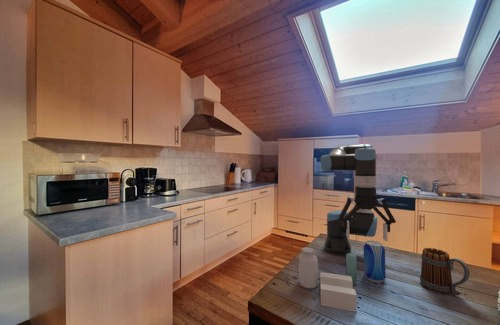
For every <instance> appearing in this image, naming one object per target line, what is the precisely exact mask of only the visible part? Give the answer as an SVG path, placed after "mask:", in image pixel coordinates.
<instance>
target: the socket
mask: <svg viewBox="0 0 500 325" xmlns="http://www.w3.org/2000/svg"><path fill="white" fill-rule="evenodd" d="M319 275H320V276H319V277H320V278H319V279H320V306H323V307H328V308H332V309H333V308H334V309H338V310H343V311H344V310H345V311H348V312H349V311H350V312H355V313H357V310H358V309H357V307H358V306H357V304H358V303H357V292H356V289H355V288H353V286H354V285H353V281H352V278H351V276H347V275H345V274H344V275H343V274H336V273H329V272H324V271H320V274H319Z"/></svg>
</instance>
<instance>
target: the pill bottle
mask: <svg viewBox="0 0 500 325" xmlns="http://www.w3.org/2000/svg"><path fill="white" fill-rule="evenodd" d="M318 263H319V260H318V257H317V256H316V255H315V249H314V248H312V247H308V246H306V247H302V248H301V254H299V256H298V277H299V278H298V281H299V284H300V286H302V287H304V288H306V289H315V288H317V287H318V284H319V276H318V275H319V269H318V268H319V264H318Z"/></svg>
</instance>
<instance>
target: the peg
mask: <svg viewBox="0 0 500 325" xmlns="http://www.w3.org/2000/svg"><path fill="white" fill-rule="evenodd" d="M345 258H346V260H345V262H346V263H345V264H346V276H351V278H352V281H353V286H357V285H358V281H357V280H358V278H357V277H358V276H357V274H358V273H357V272H358V271H357V263H358V262H357V254H355V253H349V254H346V255H345Z"/></svg>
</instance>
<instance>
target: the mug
mask: <svg viewBox="0 0 500 325" xmlns="http://www.w3.org/2000/svg"><path fill="white" fill-rule="evenodd" d="M454 262H456V263H458V264H460V266H461V267H462V269H463V276H462V278H461V279H460V280H459V281H457V282H453V278H452V271H454V270H456V267H455V266H454ZM470 273H471V272H470V268H469V266H468V265H467V263H466V262H465V261H464V260H463V259H460V258H457V257H452V258H450V254H449V253H448V252H447V251H445V250H444V251H443V250H442V249H437V248H434V247H433V248H431V247H424V248H423V249H422V253H421V267H420V275H419V283H420V284H421V285H422V286H423V287H424V288H425V289H427V290H429V291H431V292H433V293H437V294H442V295H450V294H454V295H456V296H460V295H462V294H463V291H462V290H457V289H456V287H458V286H460V285H462V284H465V283H466V282H467V281H468V280H469V277H470Z"/></svg>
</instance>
